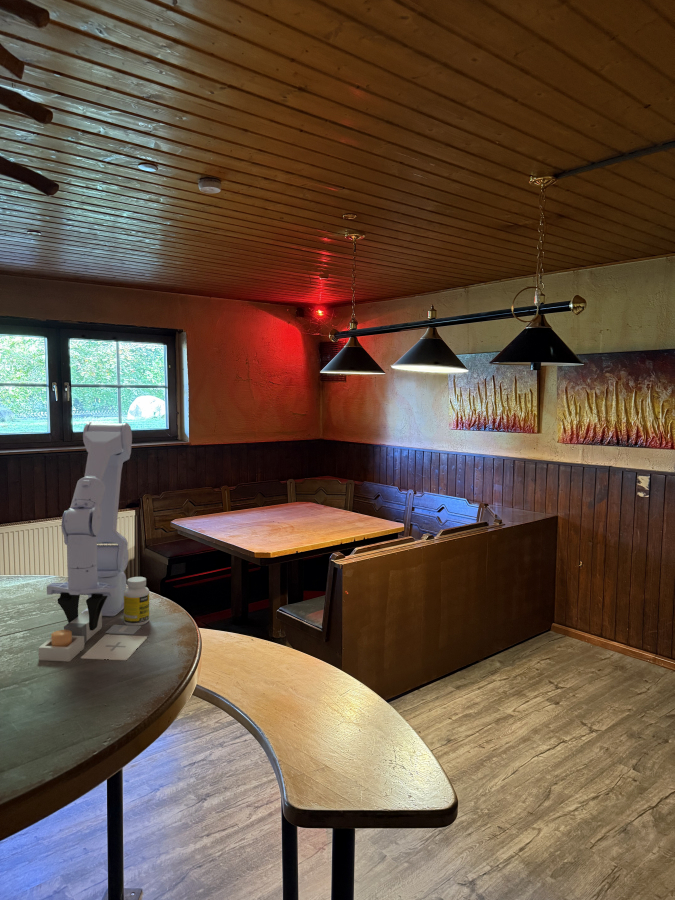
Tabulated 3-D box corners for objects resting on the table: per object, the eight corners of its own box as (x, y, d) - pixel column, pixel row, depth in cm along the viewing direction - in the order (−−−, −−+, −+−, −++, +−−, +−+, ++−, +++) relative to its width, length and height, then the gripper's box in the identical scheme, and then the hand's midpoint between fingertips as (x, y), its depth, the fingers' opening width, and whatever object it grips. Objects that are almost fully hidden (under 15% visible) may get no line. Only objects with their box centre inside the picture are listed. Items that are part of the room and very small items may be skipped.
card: (113, 626, 132) (113, 624, 132) (140, 627, 132) (140, 625, 132) (105, 633, 128) (105, 631, 128) (133, 634, 128) (133, 633, 128)
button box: (55, 646, 121) (54, 634, 121) (84, 648, 121) (84, 636, 121) (38, 660, 115) (38, 647, 115) (69, 661, 115) (69, 648, 115)
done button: (57, 643, 120) (57, 629, 119) (75, 644, 120) (75, 630, 119) (48, 651, 116) (47, 636, 116) (66, 652, 116) (65, 637, 116)
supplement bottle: (141, 627, 132) (141, 584, 131) (119, 625, 133) (118, 581, 132) (154, 618, 137) (153, 576, 136) (132, 616, 138) (131, 574, 137)
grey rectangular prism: (85, 626, 132) (85, 610, 131) (102, 627, 131) (101, 611, 131) (64, 644, 122) (63, 626, 122) (82, 645, 122) (81, 627, 122)
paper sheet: (105, 635, 127) (105, 634, 127) (147, 637, 127) (147, 636, 127) (80, 658, 116) (80, 657, 116) (126, 660, 116) (126, 659, 116)
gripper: (38, 569, 122) (39, 634, 123) (108, 571, 121) (109, 637, 122) (56, 559, 129) (57, 621, 130) (122, 562, 128) (123, 623, 129)
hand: (83, 628), depth 127 cm, fingers closed on grey rectangular prism, 4 cm apart
